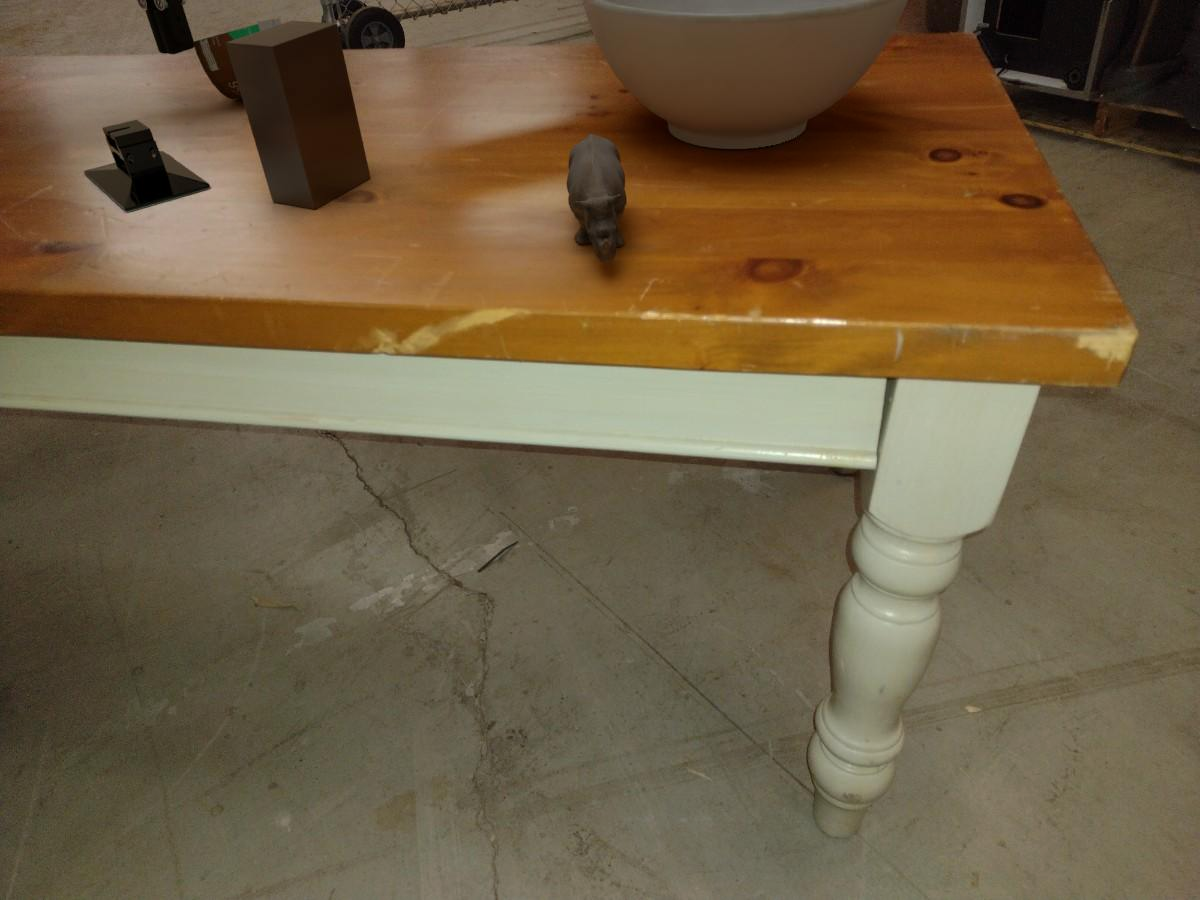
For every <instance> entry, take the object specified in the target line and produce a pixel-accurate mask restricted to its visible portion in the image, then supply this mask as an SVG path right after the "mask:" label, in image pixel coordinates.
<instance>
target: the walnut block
mask: <svg viewBox="0 0 1200 900" xmlns="http://www.w3.org/2000/svg"><path fill="white" fill-rule="evenodd" d="M339 31H340V30H339V27H338V23H335V22H319V21H305V20H304V21H303V20H290V21H286V22H283V23H281V24H280V25H277V26H274V27H271V28H268V29H265V30H262V31H259V32H256V33H253V34H250V35H247V36H244V37H241V38H238V39H235V40H232V41H229V42H226V45H227V49H228V52H229V55H230V59H231V62H232V66H233V69H234V72H235V76H236V79H237V82H238V86H239V89H240V93H241V96H242V98H241V99H242V103H243V106H244V109H245V112H246V116H247V119H248V120H247V121H248V123H249V127H250V130H251V133H252V137H253V140H254V143H255V146H256V150H257V153H258V156H259V160H260V164H261V167H262V170H263V173H264V174H263V175H264V177H265V180H266V184H267V187H268V190H269V194H270V197H271V201H272V203H276V204H280V205H281V204H282V205H288V206H292V207H293V206H294V207H297V208H305V209H311V210H317V209H319V208H321V207H322V206H324V205H326V204H327V203H329V202H331V201H333V200H335V199H336V198H338V197H340V196H342V195H343V194H345V193H347V192H349V191H350V190H353V189H354V188H356V187H357V186H360V185H361V184H364V183H365V182H367V181H368V180H370V179H371V173H370V168H369V163H368V159H367V154H366V150H365V146H364V141H363V135H362V132H361V127H360V123H359V118H358V113H357V109H356V104H355V100H354V94H353V91H352V86H351V82H350V77H349V73H348V67H347V64H346V60H345V59H346V58H345V55H344V54H345V53H344V49H343V46H342V40H341V35H340V32H339Z"/></svg>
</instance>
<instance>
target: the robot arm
mask: <svg viewBox="0 0 1200 900" xmlns="http://www.w3.org/2000/svg"><path fill="white" fill-rule="evenodd" d="M136 2H137V5H138V6H139V7H140V8H141V9H142V10H145V14H146V17H147V20H148V23H149V26H150V29H151V32H152V35H153V39H154V41H155V44H156V46H157V49H158V52H159V53H160V54H164V55H165V54H168V55H176V54H177V55H178V54H179V53H182V52H185V51H190V50H191V49H195V47H194V44H193V42H194V41H195V40H194V38H193V34H192V30H191V27H190V25H189V21H188V18H187V15H186V11H185V8H184V5H186V3H187V0H136Z"/></svg>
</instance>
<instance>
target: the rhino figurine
mask: <svg viewBox="0 0 1200 900" xmlns="http://www.w3.org/2000/svg"><path fill="white" fill-rule="evenodd" d="M567 167H568V173H567V177H566V190H567V193H568V197H567V198H568V200H567V204H568V206H569V209H570V211H571V212H572V213H573V215H574V218H575V219H576V220H577V222H578V223H579V227H580V228H579V229H578V230H577V231H576V233H575V234H574V236H573V240H574V242H575V241H576V243H577V244H580V245H585V244H591V243H592V247H593V250H594V255H595V257H596V258H597V260H598V261H600V262H601V263H604V264H609V263H610V262H613V260H614V259H615V257H616V255H617V248H620V247H622V246H624V244H625V243H626V239H625V237H624V236H623V234H622V233H621V232H620V229H619V224H620V222H621V220H622V218H623V215H624V213H625V208H626V205H627V203H628V202H627V201H628V199H627V193H626V190H625V189H626V174H625V171H624V168H623V165H622V161H621V155H620V152H619V149H618V147H617V146H616V145H615V143H614V142H613V141H611V140H610V139H607V138H606V137H602V136H599V135H596V134H594V133H590V134H589V135H588V136H587V137H586V138H584V139H583V140H580V141H579V142H577V143H576V144H575V145H574V146H573V147H572V148H571V150H570V152H569V156H568V166H567Z"/></svg>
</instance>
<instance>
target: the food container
mask: <svg viewBox="0 0 1200 900" xmlns="http://www.w3.org/2000/svg"><path fill="white" fill-rule="evenodd" d="M280 24H282V23H281V20H280V18H275V19H266V20H265V19H264V20H259V21H257V23H255V24H253V25H249V26H245V27H242V28H238V29H235V30H231V31H226V32H223V33H220V34H216V35H213V36H209V37H205V38H201V39H198V40H194V42H193V44H194V50H195V53H196V56H197V58H198V61H199V63H200V65H201V68H202V69H203V71H204V73H205V75H206V76H207V78H208V79H209V81H210V82H211V84H212V86H214V87H215V88H216V90H217V91H218V92H219V93H220V94H222V95H223V96H224V97H226V98H228V99H230V100H238V99H242V96H241V93H240V89H239V86H238V82H237V79H236V76H235V72H234V69H233V66H232V62H231V59H230V55H229V52H228V49H227V45H226V42H229V41H232V40H235V39H238V38H241V37H244V36H247V35H250V34H253V33H256V32H259V31H262V30H265V29H268V28H271V27H274V26H277V25H280Z"/></svg>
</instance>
